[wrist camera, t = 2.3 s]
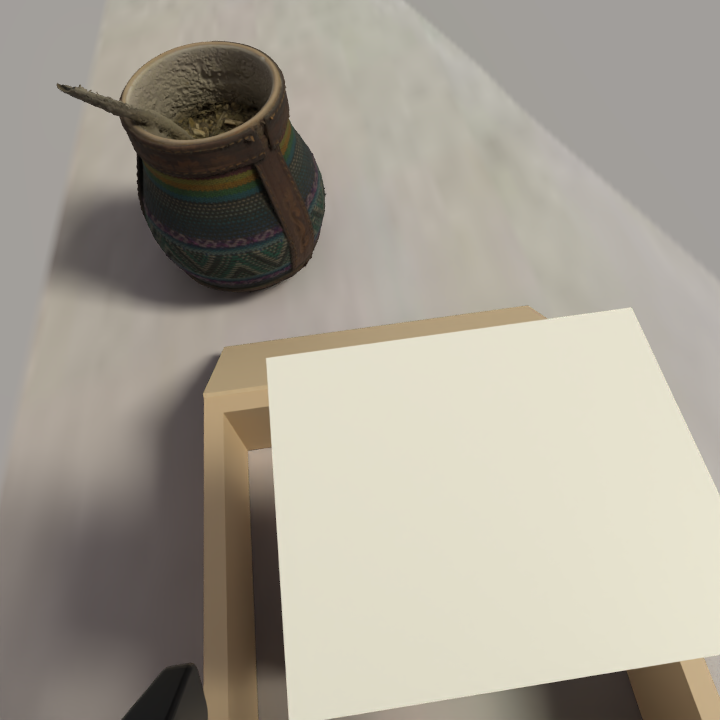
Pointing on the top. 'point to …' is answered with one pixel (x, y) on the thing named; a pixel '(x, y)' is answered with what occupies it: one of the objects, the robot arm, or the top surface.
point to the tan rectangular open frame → (233, 528)
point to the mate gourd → (220, 164)
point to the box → (486, 515)
